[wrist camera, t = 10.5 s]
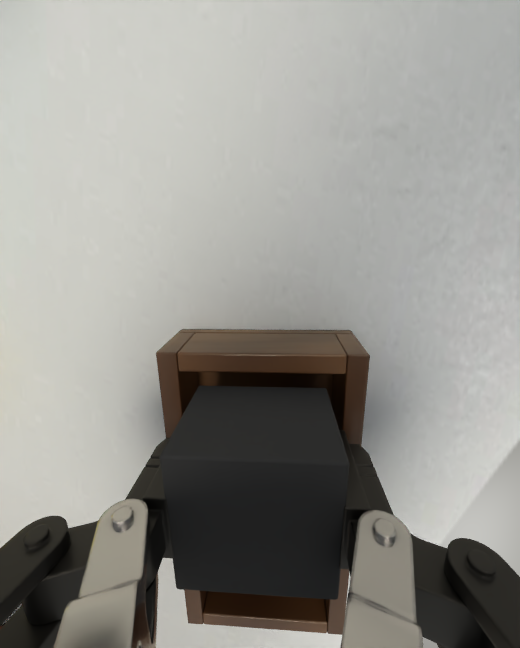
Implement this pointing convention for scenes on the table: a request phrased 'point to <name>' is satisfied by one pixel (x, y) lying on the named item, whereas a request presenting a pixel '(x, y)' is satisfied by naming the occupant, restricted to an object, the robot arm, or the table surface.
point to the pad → (257, 492)
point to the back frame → (267, 371)
